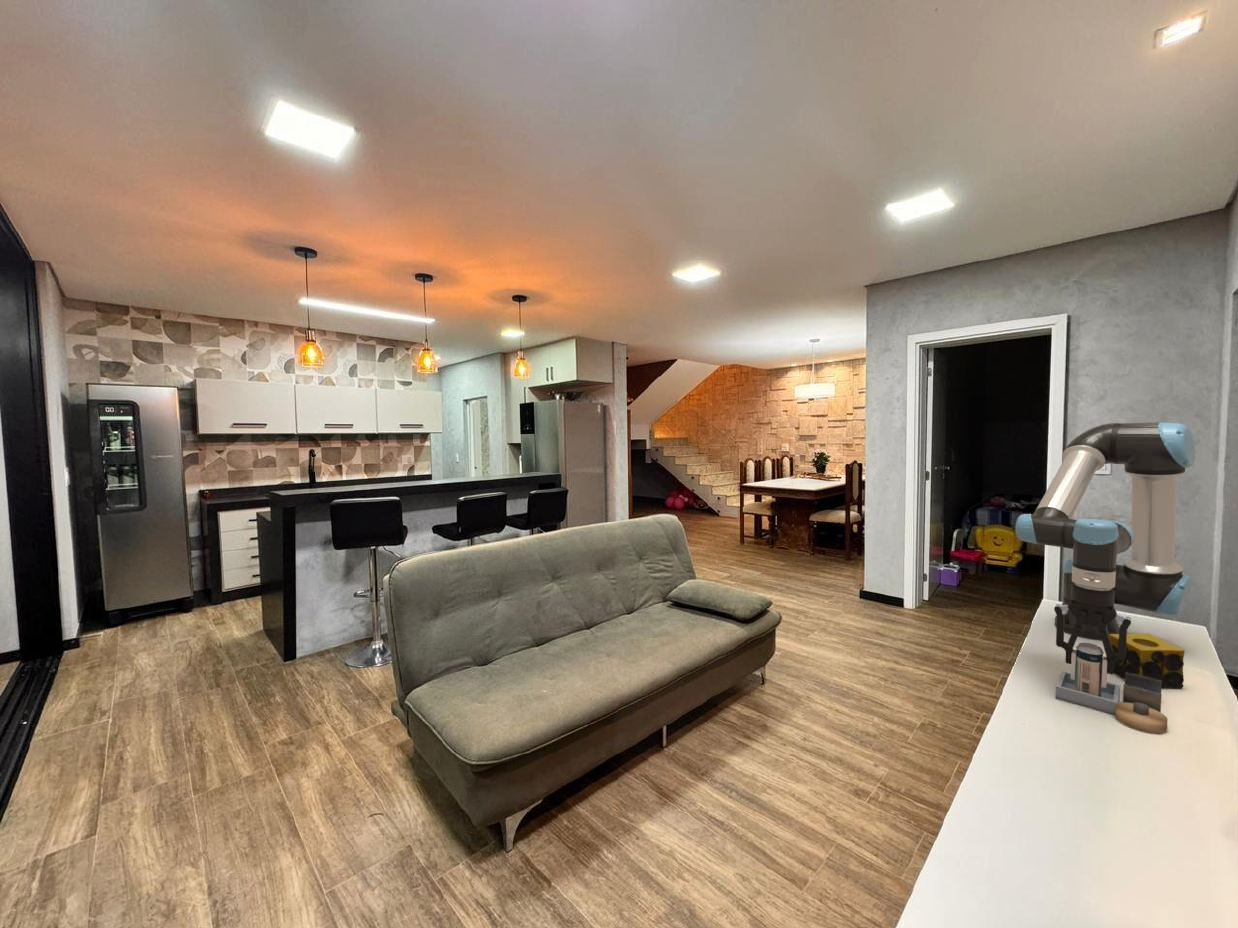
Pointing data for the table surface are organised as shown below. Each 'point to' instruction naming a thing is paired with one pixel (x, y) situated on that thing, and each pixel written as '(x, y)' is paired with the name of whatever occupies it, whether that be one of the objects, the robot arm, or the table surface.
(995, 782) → the table surface
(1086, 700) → the tray
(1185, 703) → the table surface
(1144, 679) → the bracket
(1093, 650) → the beer can
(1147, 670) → the yellow holed block
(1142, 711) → the disc
